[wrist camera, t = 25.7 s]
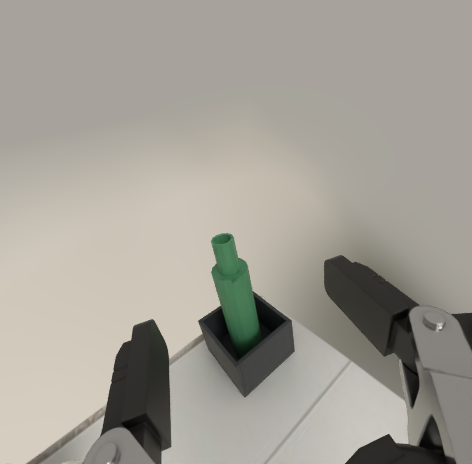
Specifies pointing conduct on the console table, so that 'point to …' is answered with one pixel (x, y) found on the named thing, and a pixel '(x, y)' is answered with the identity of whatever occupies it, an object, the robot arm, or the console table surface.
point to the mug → (72, 462)
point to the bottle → (235, 295)
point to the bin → (261, 356)
